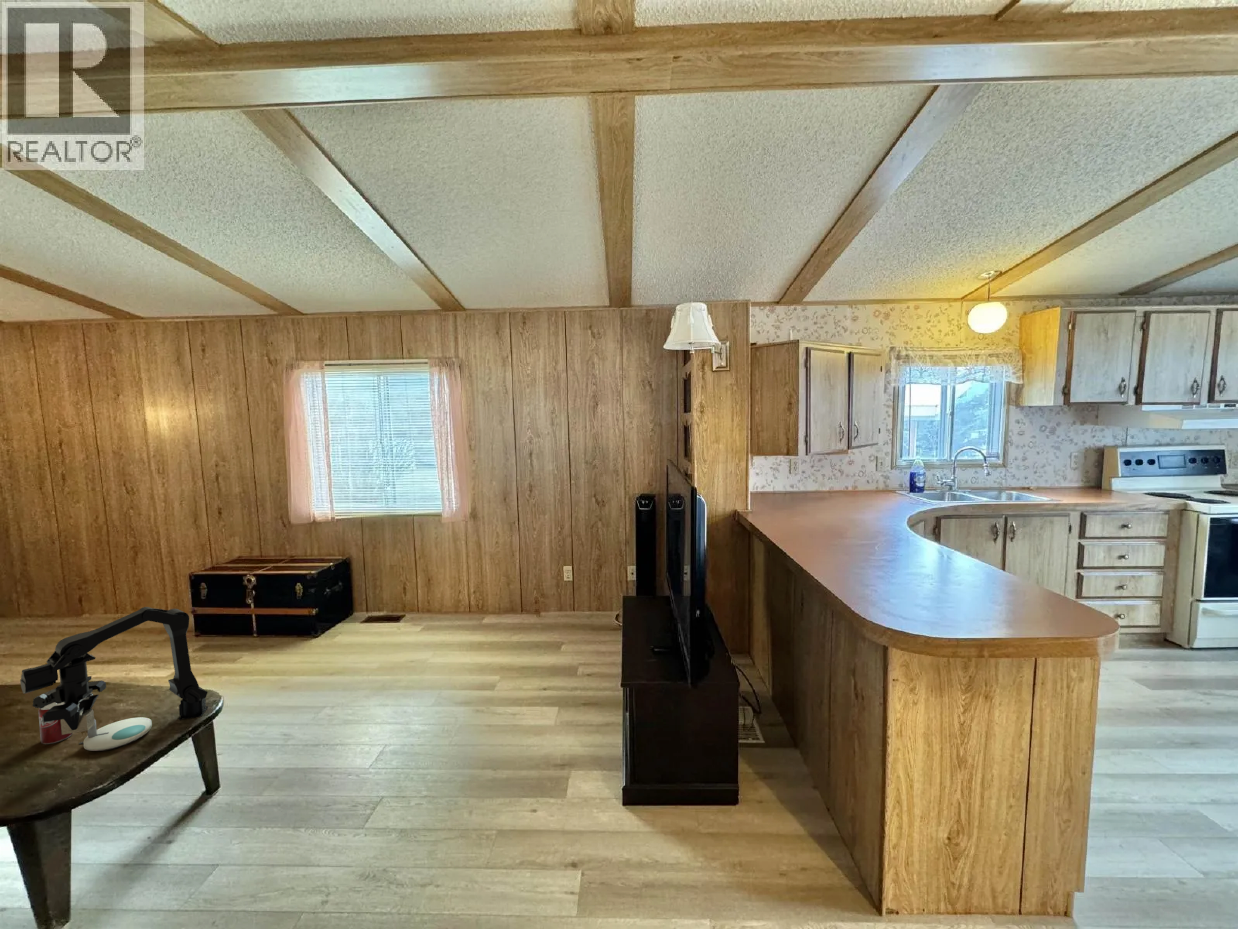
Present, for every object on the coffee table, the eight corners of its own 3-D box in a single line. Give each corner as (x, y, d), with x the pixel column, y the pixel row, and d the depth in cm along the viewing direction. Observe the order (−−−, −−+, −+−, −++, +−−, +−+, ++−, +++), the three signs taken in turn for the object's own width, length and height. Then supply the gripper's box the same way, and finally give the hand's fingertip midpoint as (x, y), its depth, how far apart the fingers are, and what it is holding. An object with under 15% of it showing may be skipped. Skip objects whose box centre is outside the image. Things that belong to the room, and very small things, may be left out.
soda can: (51, 746, 161) (48, 711, 160) (34, 743, 163) (32, 708, 162) (79, 733, 168) (77, 699, 167) (63, 730, 170) (60, 696, 169)
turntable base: (153, 723, 174) (153, 721, 174) (133, 745, 162) (133, 743, 162) (90, 733, 168) (89, 731, 168) (63, 757, 156) (63, 755, 156)
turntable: (115, 722, 173) (114, 704, 173) (164, 720, 174) (163, 703, 174) (68, 751, 157) (67, 732, 157) (122, 749, 158) (121, 730, 158)
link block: (94, 724, 158) (93, 708, 157) (87, 730, 154) (86, 714, 154) (69, 728, 155) (68, 712, 155) (61, 734, 152) (60, 719, 152)
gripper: (60, 668, 159) (64, 715, 161) (15, 699, 142) (20, 750, 143) (105, 663, 163) (109, 708, 165) (66, 691, 146) (71, 741, 147)
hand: (78, 726), depth 155 cm, fingers closed on link block, 3 cm apart
